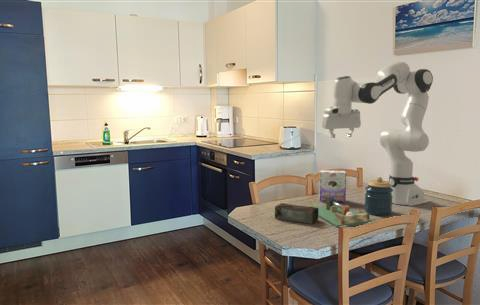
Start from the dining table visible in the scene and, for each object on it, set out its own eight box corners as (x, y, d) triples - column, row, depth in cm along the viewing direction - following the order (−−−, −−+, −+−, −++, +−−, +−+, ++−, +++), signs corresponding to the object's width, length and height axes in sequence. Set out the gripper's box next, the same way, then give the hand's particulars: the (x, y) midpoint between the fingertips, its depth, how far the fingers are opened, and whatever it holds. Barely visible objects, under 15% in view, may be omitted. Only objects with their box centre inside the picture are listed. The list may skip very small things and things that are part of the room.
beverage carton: (280, 214, 194) (281, 201, 193) (319, 220, 185) (319, 206, 184) (274, 218, 187) (274, 205, 186) (313, 225, 178) (313, 211, 177)
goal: (361, 217, 186) (361, 210, 185) (369, 221, 180) (369, 213, 180) (334, 220, 181) (335, 212, 181) (342, 224, 176) (342, 216, 175)
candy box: (344, 199, 221) (345, 170, 218) (345, 202, 215) (346, 172, 212) (319, 198, 223) (320, 169, 221) (319, 201, 217) (320, 171, 215)
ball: (354, 210, 182) (356, 218, 180) (350, 212, 185) (352, 220, 184) (347, 211, 181) (349, 218, 179) (343, 213, 184) (345, 221, 182)
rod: (324, 207, 200) (325, 197, 199) (330, 206, 201) (330, 197, 200) (343, 217, 184) (344, 206, 183) (349, 216, 185) (349, 206, 184)
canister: (366, 215, 192) (368, 179, 190) (362, 207, 205) (363, 174, 202) (394, 216, 190) (396, 180, 188) (388, 209, 203) (390, 175, 201)
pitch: (338, 205, 209) (339, 200, 208) (375, 223, 181) (375, 216, 180) (304, 208, 203) (304, 203, 202) (336, 227, 174) (336, 220, 174)
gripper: (356, 108, 204) (355, 135, 206) (320, 109, 198) (320, 137, 200) (363, 109, 198) (362, 137, 200) (327, 110, 192) (326, 138, 194)
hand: (341, 137), depth 200 cm, fingers open, 8 cm apart
